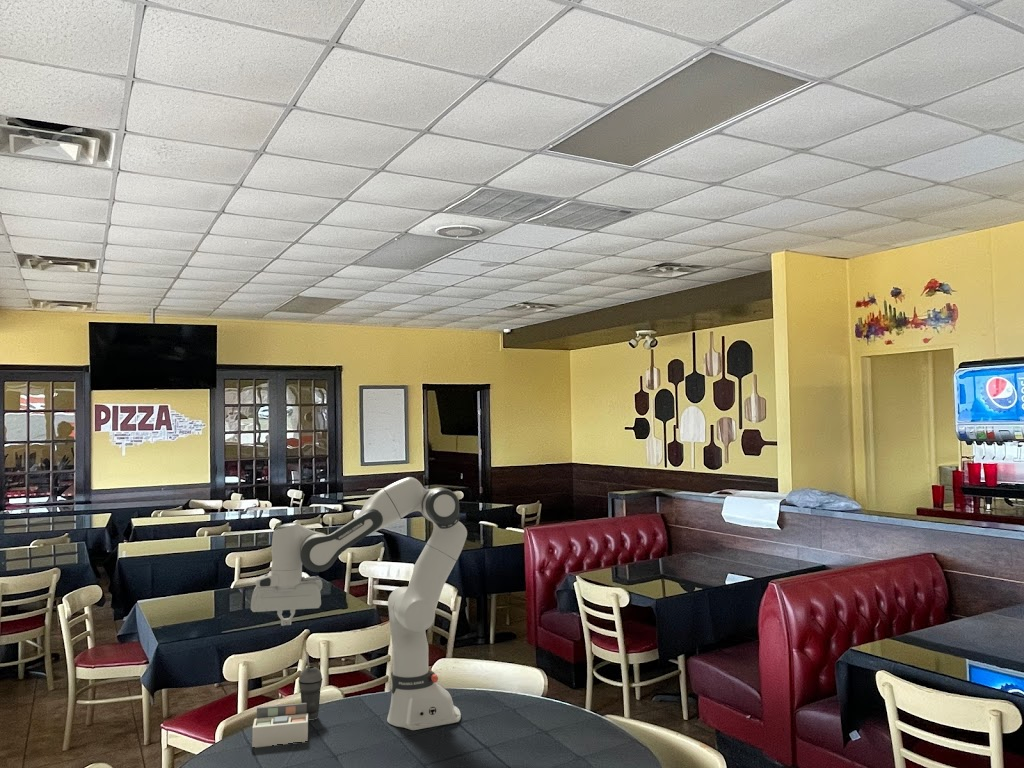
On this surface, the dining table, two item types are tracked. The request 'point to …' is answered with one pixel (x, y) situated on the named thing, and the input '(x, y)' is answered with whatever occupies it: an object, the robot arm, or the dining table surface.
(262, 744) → the keypad console
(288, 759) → the dining table surface
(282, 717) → the key slate
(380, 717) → the dining table surface
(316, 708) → the beverage cup
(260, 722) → the key sage
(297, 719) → the key terracotta
